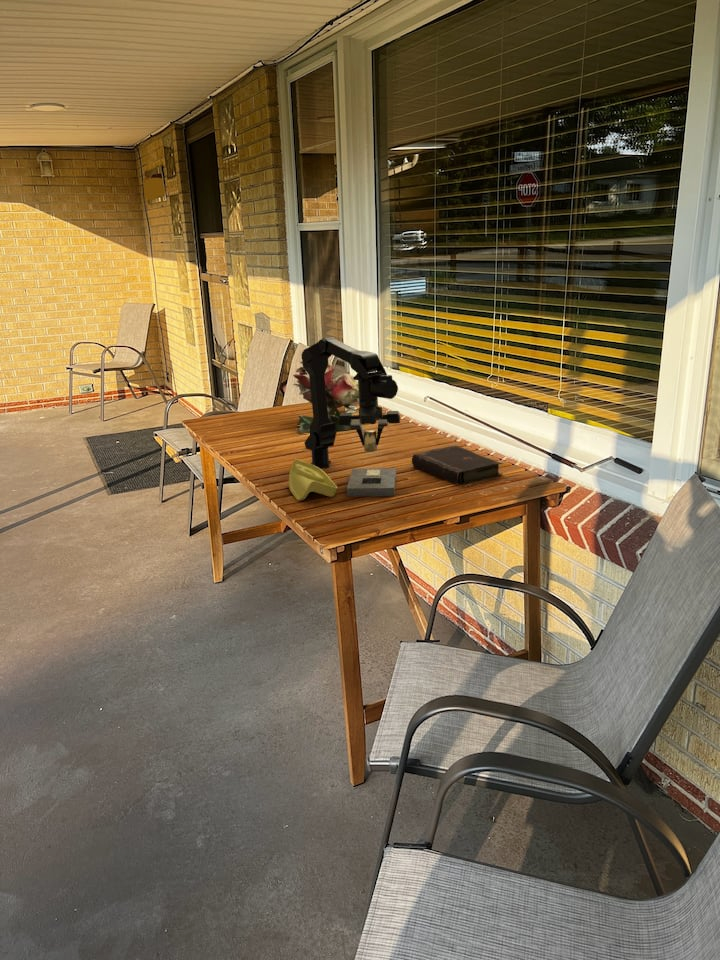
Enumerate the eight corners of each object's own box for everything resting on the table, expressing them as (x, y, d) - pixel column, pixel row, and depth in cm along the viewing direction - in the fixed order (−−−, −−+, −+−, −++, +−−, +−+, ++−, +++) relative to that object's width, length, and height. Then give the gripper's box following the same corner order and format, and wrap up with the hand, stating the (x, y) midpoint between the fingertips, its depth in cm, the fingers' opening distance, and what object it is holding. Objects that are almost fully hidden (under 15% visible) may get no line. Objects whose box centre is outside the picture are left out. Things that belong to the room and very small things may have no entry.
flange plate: (352, 476, 233) (352, 468, 232) (396, 475, 232) (396, 467, 231) (346, 496, 214) (346, 487, 213) (394, 496, 213) (394, 487, 212)
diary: (456, 487, 220) (456, 471, 218) (411, 468, 241) (411, 453, 239) (504, 476, 228) (505, 461, 227) (457, 458, 249) (457, 444, 248)
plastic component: (339, 489, 214) (309, 479, 209) (329, 512, 215) (299, 502, 210) (319, 466, 231) (290, 457, 227) (310, 487, 233) (281, 478, 228)
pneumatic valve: (364, 412, 323) (363, 386, 319) (338, 414, 320) (337, 388, 317) (362, 410, 328) (361, 384, 324) (336, 412, 326) (335, 385, 322)
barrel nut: (364, 448, 227) (363, 430, 225) (377, 448, 227) (376, 429, 225) (363, 452, 223) (363, 432, 221) (376, 451, 223) (376, 432, 221)
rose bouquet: (370, 428, 295) (367, 354, 286) (300, 436, 286) (296, 360, 277) (349, 415, 318) (346, 346, 309) (284, 423, 309) (279, 352, 300)
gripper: (335, 401, 213) (338, 453, 217) (398, 399, 211) (400, 450, 216) (338, 394, 223) (341, 444, 228) (399, 392, 222) (400, 441, 227)
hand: (370, 445), depth 224 cm, fingers closed on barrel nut, 4 cm apart
